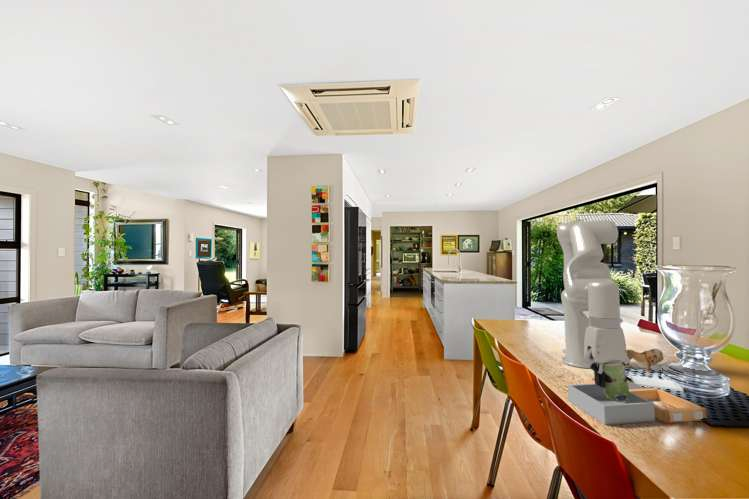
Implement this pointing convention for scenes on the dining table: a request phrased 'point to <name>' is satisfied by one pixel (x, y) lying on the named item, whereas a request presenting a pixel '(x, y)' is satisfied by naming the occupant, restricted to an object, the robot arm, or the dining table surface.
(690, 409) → the case
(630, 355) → the lion figurine
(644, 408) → the parts bin
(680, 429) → the dining table surface
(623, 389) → the beverage can
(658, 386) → the hard drive
